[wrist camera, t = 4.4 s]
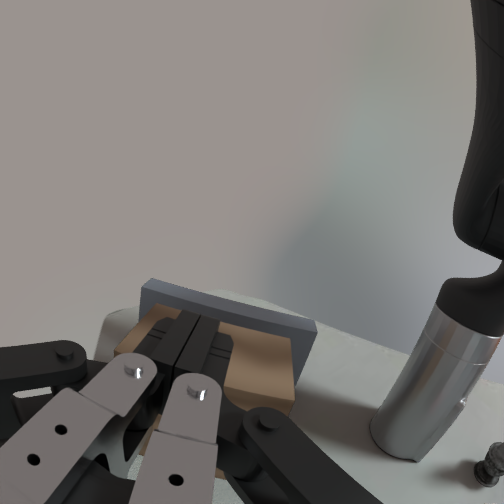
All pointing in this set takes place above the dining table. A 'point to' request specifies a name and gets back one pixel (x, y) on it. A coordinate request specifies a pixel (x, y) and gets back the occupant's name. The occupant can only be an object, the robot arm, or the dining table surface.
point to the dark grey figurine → (491, 466)
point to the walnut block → (237, 366)
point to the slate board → (235, 316)
